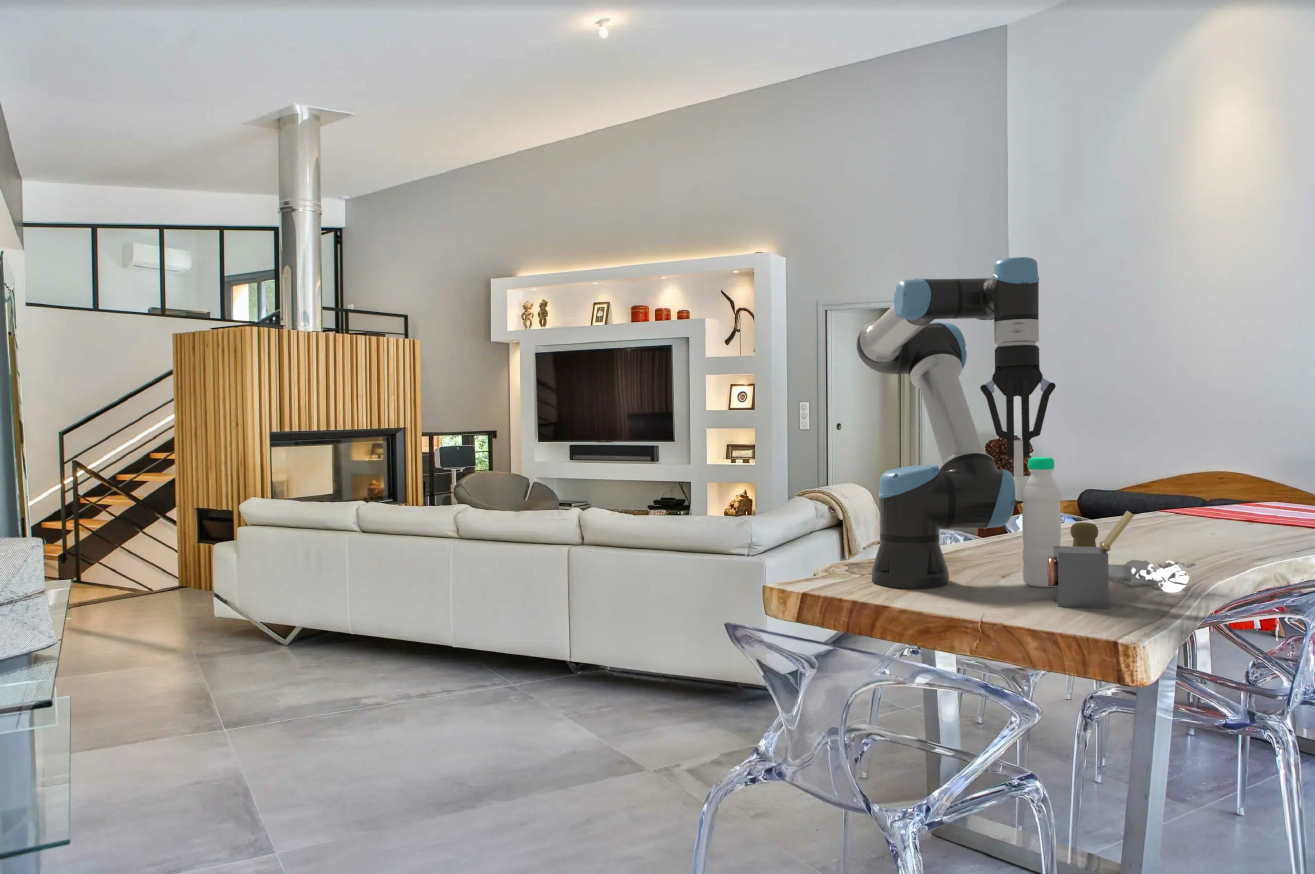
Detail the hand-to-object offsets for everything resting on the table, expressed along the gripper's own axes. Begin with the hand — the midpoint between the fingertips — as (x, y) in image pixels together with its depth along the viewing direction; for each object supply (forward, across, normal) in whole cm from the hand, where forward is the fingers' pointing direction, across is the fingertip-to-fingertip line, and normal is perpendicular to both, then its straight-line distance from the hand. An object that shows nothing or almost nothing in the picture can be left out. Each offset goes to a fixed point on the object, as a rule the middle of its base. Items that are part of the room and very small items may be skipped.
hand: (1018, 476), depth 172 cm
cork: (+23, +13, +29) cm, 39 cm away
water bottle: (+23, +5, +18) cm, 29 cm away
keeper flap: (+10, +17, +1) cm, 19 cm away
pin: (+20, +11, +1) cm, 23 cm away
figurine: (+23, +25, +18) cm, 38 cm away
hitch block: (+23, +10, +1) cm, 25 cm away
